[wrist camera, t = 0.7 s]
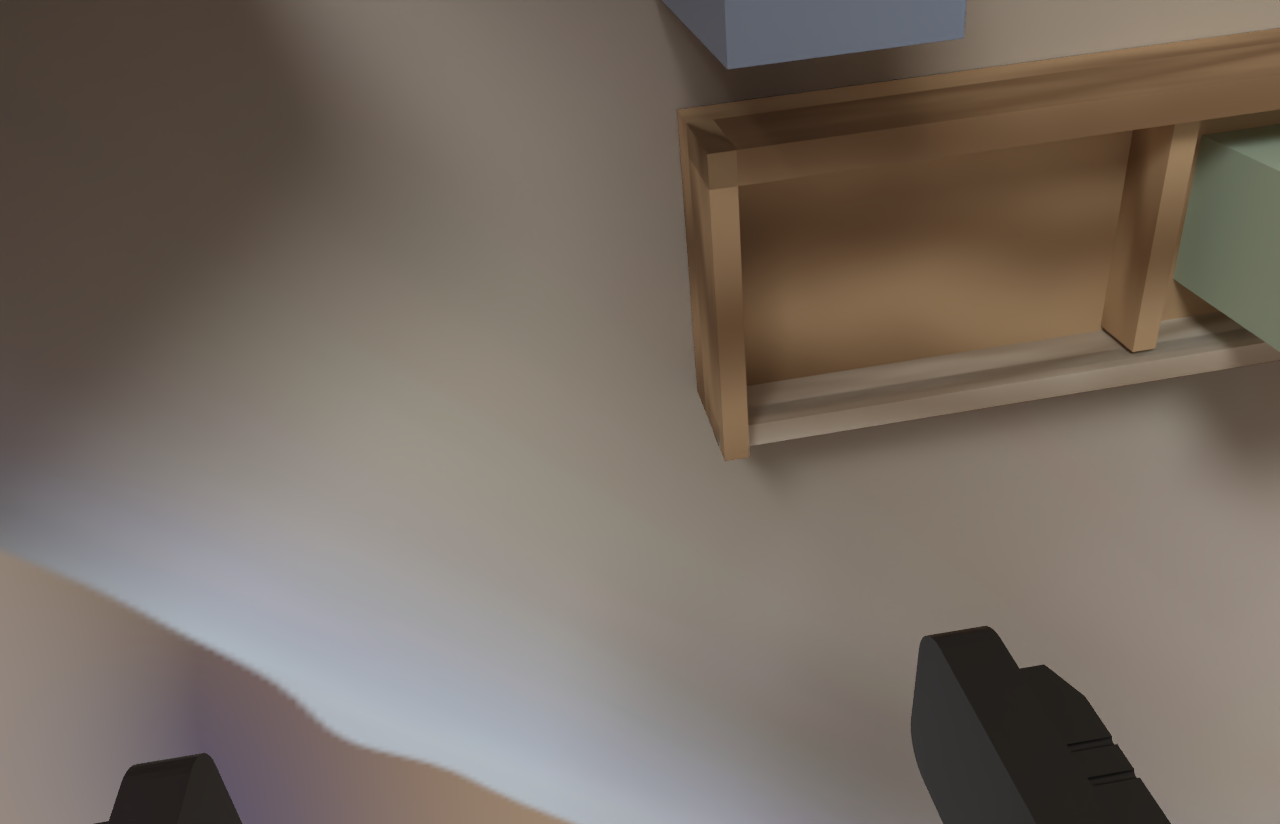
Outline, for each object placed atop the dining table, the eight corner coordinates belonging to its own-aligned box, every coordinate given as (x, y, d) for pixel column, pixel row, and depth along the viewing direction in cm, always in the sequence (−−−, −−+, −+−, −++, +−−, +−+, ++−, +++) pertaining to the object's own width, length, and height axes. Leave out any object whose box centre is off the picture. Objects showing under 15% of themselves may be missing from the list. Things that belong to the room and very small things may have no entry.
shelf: (677, 109, 31) (707, 154, 27) (1523, -5, 33) (1660, 21, 29) (697, 392, 36) (725, 461, 33) (1425, 277, 39) (1531, 330, 35)
